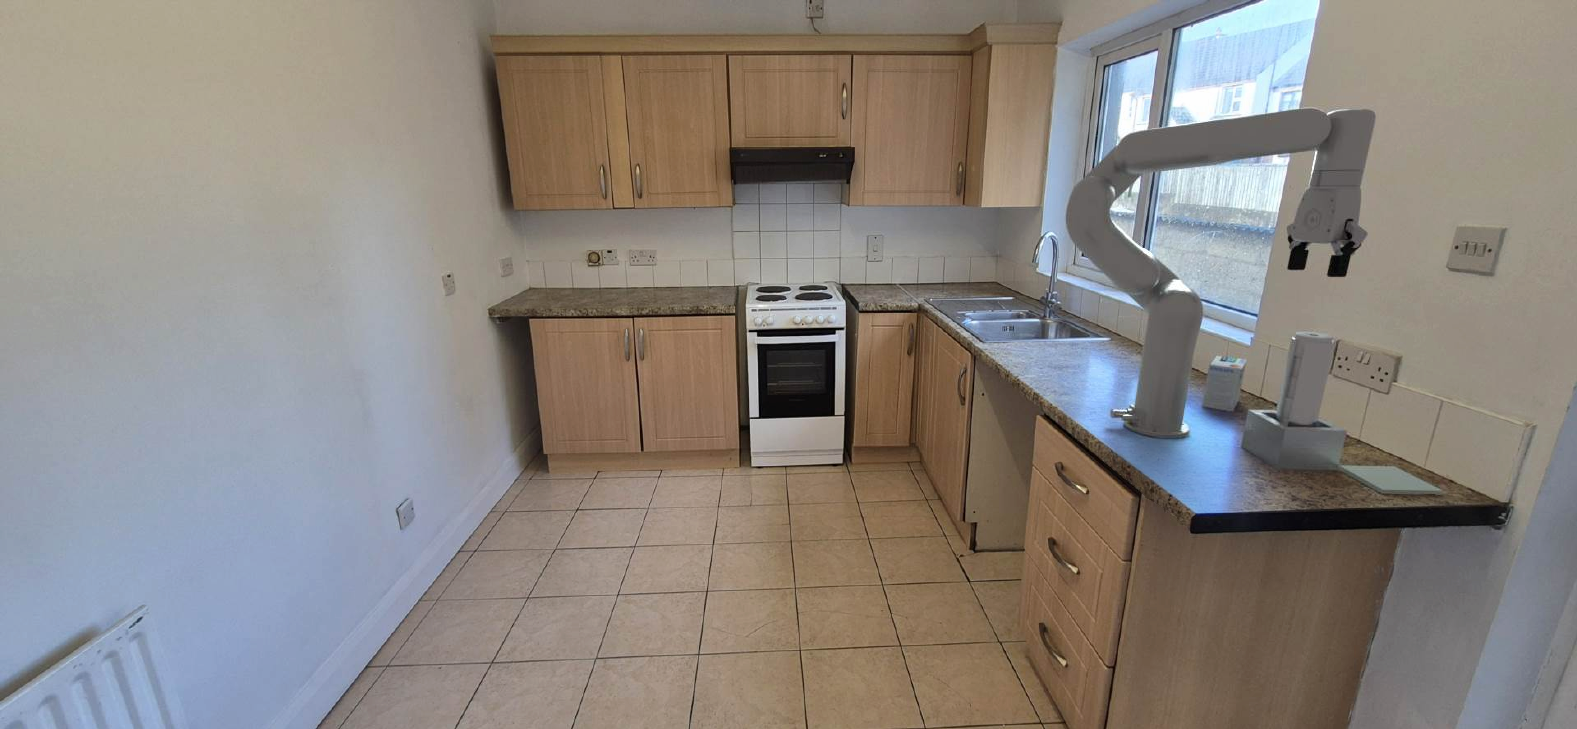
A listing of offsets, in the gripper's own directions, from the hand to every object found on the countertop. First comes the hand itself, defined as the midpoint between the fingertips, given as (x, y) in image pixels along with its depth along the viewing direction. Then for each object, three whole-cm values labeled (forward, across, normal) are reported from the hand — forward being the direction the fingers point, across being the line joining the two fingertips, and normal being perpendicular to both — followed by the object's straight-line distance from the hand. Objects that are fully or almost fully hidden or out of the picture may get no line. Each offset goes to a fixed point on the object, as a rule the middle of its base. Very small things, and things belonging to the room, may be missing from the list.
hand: (1315, 273), depth 125 cm
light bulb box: (+36, -26, +5) cm, 44 cm away
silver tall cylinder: (+36, +7, -4) cm, 36 cm away
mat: (+35, +18, +7) cm, 40 cm away
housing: (+35, +7, -4) cm, 36 cm away
